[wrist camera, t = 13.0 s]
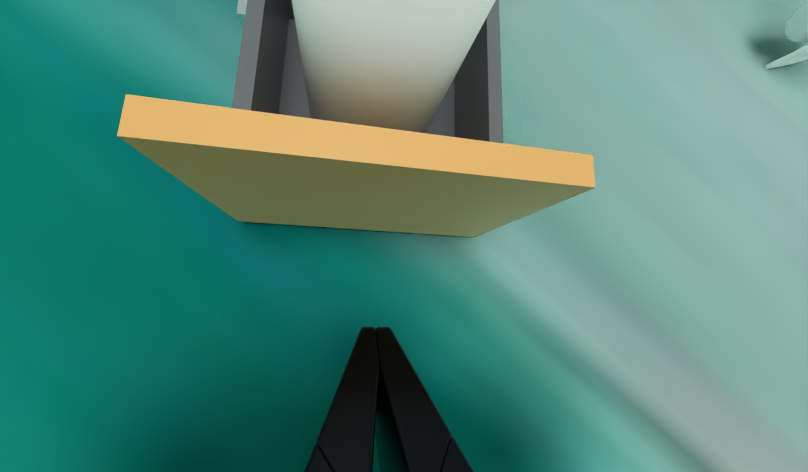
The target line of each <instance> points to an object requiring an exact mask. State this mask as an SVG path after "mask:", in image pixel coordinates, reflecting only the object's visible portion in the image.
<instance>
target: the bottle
mask: <svg viewBox="0 0 808 472" xmlns="http://www.w3.org/2000/svg"><path fill="white" fill-rule="evenodd" d="M495 1H496V0H292V5H293V11H294V18H295V24H296V30H297V36H298V42H299V48H300V54H301V60H302V66H303V72H304V79H305V85H306V91H307V97H308V103H309V109H310V115H311V118H312V119H319V120H327V121H335V122H342V123H350V124H358V125H365V126H373V127H381V128H388V129H396V130H404V131H411V132H419V133H425V132H426V130H427V128H428V126H429V124H430V123H431V121H432V119H433V117H434V115H435V113H436V111H437V109H438V108H439V106H440V104H441V102H442V100H443V98H444V96H445V94H446V93H447V91H448V89H449V87H450V85H451V83H452V81H453V79H454V78H455V76H456V74H457V72H458V70H459V68H460V66H461V64H462V63H463V61H464V59H465V57H466V55H467V53H468V51H469V49H470V48H471V46H472V44H473V42H474V40H475V38H476V36H477V34H478V33H479V31H480V29H481V27H482V25H483V23H484V21H485V19H486V18H487V16H488V14H489V12H490V10H491V8H492V6H493V4H494V3H495Z"/></svg>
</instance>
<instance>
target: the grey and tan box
mask: <svg viewBox="0 0 808 472" xmlns="http://www.w3.org/2000/svg"><path fill="white" fill-rule="evenodd" d="M117 136H118V137H119V138H121V139H122V140H124V141H125V142H127V143H128V144H129V145H131V146H132V147H134V148H135V149H136V150H138V151H139V152H141V153H142V154H144V155H145V156H146V157H148V158H149V159H151V160H152V161H153V162H155V163H156V164H158V165H159V166H161V167H162V168H163V169H165V170H166V171H168V172H169V173H170V174H172V175H173V176H175V177H176V178H178V179H179V180H180V181H182V182H183V183H185V184H186V185H187V186H189V187H190V188H192V189H193V190H194V191H196V192H197V193H199V194H200V195H202V196H203V197H204V198H206V199H207V200H209V201H210V202H211V203H213V204H214V205H216V206H217V207H219V208H220V209H221V210H223V211H224V212H226V213H227V214H228V215H230V216H231V217H233V218H234V219H236V220H237V221H242V222H257V223H271V224H286V225H301V226H316V227H331V228H346V229H360V230H375V231H390V232H405V233H420V234H435V235H449V236H464V237H476V236H478V235H481V234H483V233H485V232H488V231H490V230H493V229H495V228H498V227H500V226H503V225H505V224H507V223H510V222H512V221H515V220H517V219H520V218H522V217H525V216H527V215H530V214H532V213H534V212H537V211H539V210H542V209H544V208H547V207H549V206H552V205H554V204H556V203H559V202H561V201H564V200H566V199H569V198H571V197H574V196H576V195H578V194H581V193H583V192H586V191H588V190H591V189H593V188H596V187H595V175H594V164H593V155H588V154H580V153H572V152H565V151H557V150H549V149H542V148H534V147H526V146H519V145H511V144H503V120H502V88H501V55H500V22H499V0H496V1H495V3H494V4H493V6H492V8H491V10H490V12H489V14H488V16H487V18H486V19H485V21H484V23H483V25H482V27H481V29H480V31H479V33H478V34H477V36H476V38H475V40H474V42H473V44H472V46H471V48H470V49H469V51H468V53H467V55H466V57H465V59H464V61H463V63H462V64H461V66H460V68H459V70H458V72H457V74H456V76H455V78H454V79H453V81H452V83H451V85H450V87H449V89H448V91H447V93H446V94H445V96H444V98H443V100H442V102H441V104H440V106H439V108H438V109H437V111H436V113H435V115H434V117H433V119H432V121H431V123H430V124H429V126H428V128H427V130H426V132H425V133H419V132H411V131H404V130H396V129H388V128H381V127H373V126H365V125H358V124H350V123H342V122H335V121H327V120H319V119H312V118H311V115H310V109H309V103H308V97H307V91H306V85H305V79H304V72H303V66H302V60H301V54H300V48H299V42H298V36H297V30H296V24H295V18H294V11H293V5H292V0H247V7H246V14H245V21H244V28H243V35H242V42H241V49H240V56H239V64H238V71H237V78H236V85H235V92H234V99H233V106H232V108H227V107H220V106H212V105H204V104H197V103H189V102H181V101H174V100H166V99H158V98H151V97H143V96H136V95H128V94H126V96H125V101H124V106H123V110H122V115H121V120H120V125H119V130H118V134H117Z"/></svg>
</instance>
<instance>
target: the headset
mask: <svg viewBox="0 0 808 472" xmlns="http://www.w3.org/2000/svg"><path fill="white" fill-rule="evenodd" d="M785 35H786V37H787V38H788V39H789V40H791V41H793V42H808V1H807V2H806V3H805V4H803V5H802V6H801V7H800V8H799V9H797V10H796V11H795V12H794V13H793V14H792V16H791V17H790V18H789V20H788V21H787V24H786V27H785ZM805 60H808V44H806V45H804V46H802V47H800V48H799V49H797V50H796V51H794V52H792V53H790V54H788V55H786V56H784V57H781V58H779V59H777V60H775V61H773V62H771V63H769V64H767V65H766V66H764V67H765V69H770V68H775V67H780V66H785V65H790V64H794V63H797V62H801V61H805Z"/></svg>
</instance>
